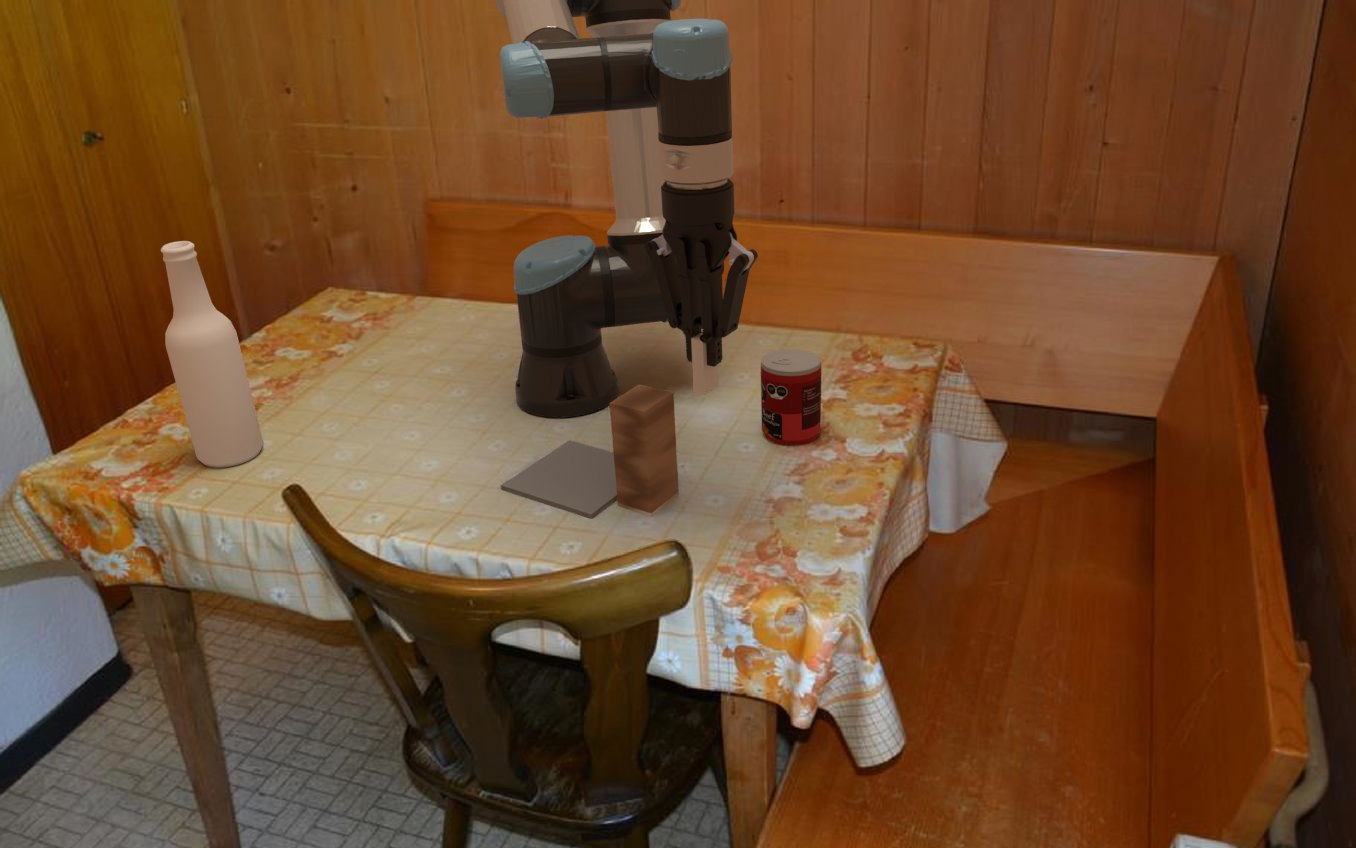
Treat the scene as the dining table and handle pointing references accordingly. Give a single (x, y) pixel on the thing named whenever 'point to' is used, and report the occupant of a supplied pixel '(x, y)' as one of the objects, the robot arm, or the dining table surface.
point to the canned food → (791, 396)
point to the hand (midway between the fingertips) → (705, 389)
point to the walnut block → (644, 449)
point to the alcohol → (208, 367)
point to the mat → (570, 479)
